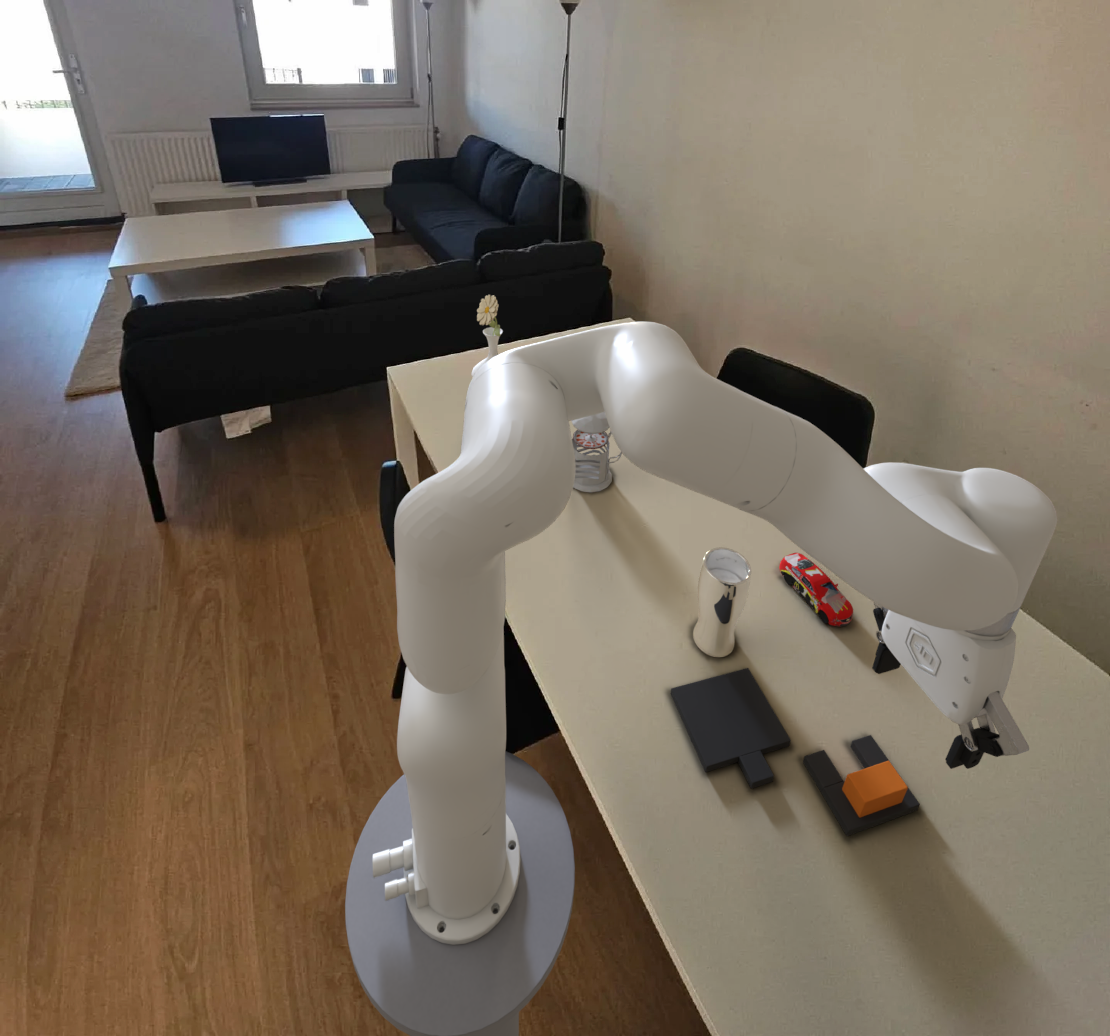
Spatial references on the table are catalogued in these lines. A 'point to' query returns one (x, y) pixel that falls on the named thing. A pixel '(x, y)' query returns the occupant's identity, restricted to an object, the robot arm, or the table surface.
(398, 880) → the robot arm
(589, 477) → the french press
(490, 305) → the flower in vase
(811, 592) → the race car
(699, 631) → the beer glass
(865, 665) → the table surface
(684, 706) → the charcoal pad
